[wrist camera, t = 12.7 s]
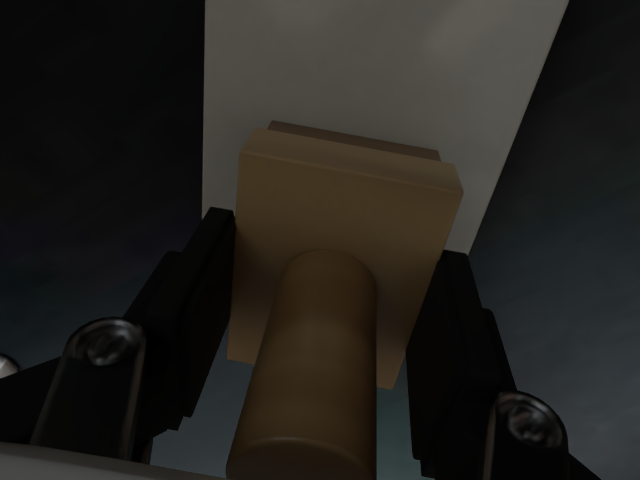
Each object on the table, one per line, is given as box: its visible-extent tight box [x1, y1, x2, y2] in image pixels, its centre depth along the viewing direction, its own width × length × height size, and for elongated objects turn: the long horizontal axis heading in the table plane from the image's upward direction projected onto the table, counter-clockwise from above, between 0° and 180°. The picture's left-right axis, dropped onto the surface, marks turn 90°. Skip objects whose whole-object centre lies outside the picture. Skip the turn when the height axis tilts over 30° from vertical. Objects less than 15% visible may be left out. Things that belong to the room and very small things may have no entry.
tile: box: [202, 0, 569, 256], centre depth 13 cm, size 12×8×1 cm, turn 171°
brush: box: [226, 120, 464, 480], centre depth 11 cm, size 6×5×8 cm
